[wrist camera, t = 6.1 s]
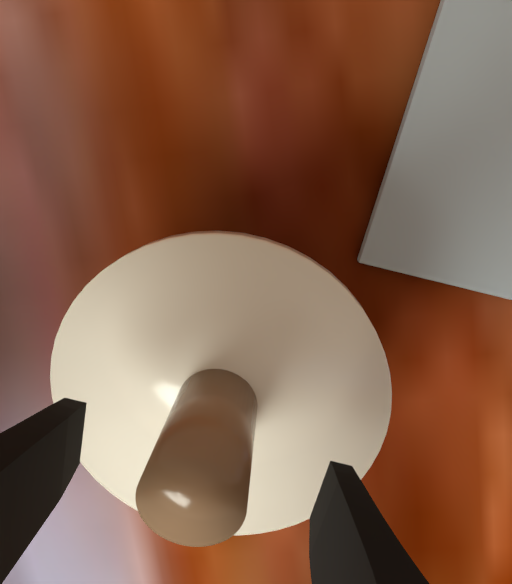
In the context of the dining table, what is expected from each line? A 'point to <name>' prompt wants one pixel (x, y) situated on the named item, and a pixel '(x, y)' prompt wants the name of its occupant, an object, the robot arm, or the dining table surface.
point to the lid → (221, 383)
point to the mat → (453, 158)
